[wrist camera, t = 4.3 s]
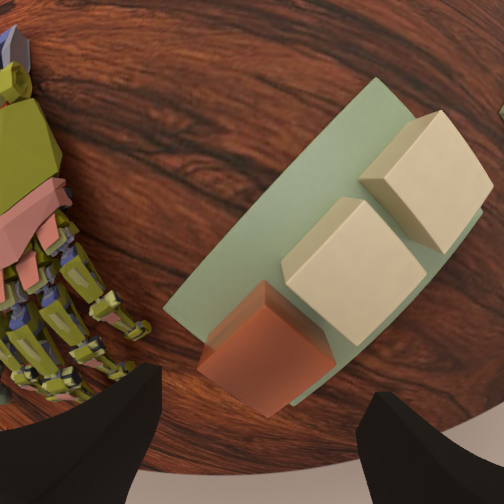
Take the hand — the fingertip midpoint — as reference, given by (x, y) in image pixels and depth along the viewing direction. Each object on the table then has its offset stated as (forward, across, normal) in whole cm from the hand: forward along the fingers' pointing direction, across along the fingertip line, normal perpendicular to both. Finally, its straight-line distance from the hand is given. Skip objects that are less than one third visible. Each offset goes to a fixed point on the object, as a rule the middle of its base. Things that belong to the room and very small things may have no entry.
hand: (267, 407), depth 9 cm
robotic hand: (+6, +15, -4) cm, 16 cm away
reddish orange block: (+5, 0, 0) cm, 5 cm away
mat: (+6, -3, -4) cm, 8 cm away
